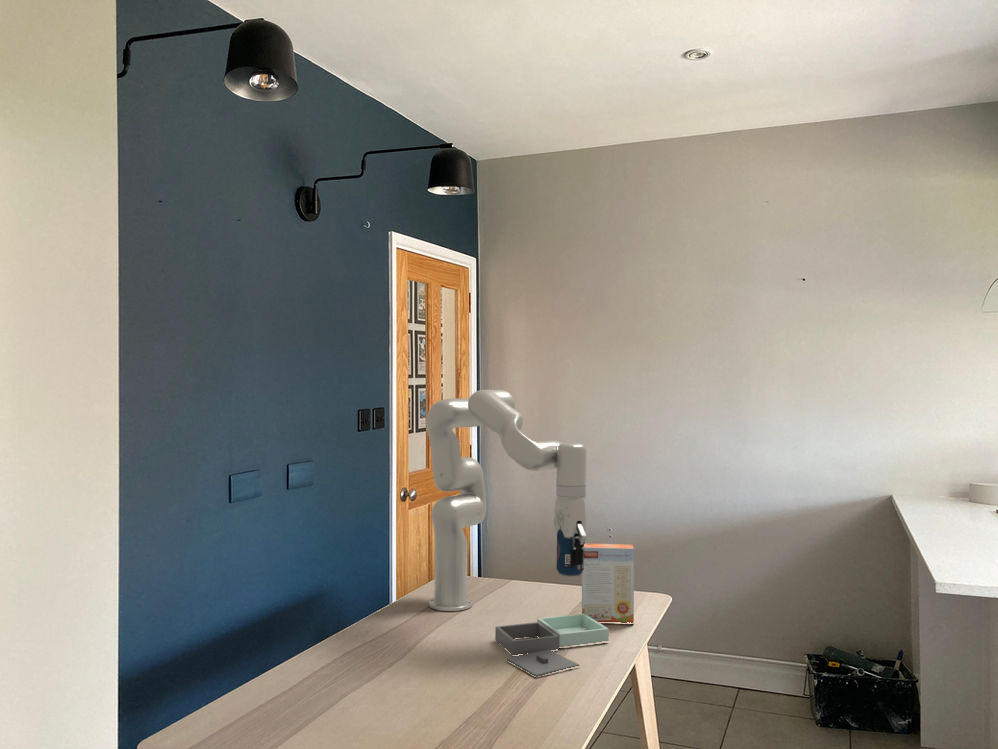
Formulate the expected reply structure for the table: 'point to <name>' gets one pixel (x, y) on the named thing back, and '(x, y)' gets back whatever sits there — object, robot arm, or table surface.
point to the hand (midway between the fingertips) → (570, 560)
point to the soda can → (566, 556)
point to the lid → (542, 662)
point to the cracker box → (608, 582)
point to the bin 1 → (524, 646)
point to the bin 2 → (576, 629)
